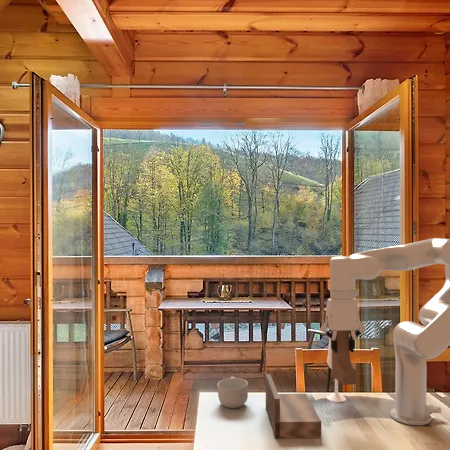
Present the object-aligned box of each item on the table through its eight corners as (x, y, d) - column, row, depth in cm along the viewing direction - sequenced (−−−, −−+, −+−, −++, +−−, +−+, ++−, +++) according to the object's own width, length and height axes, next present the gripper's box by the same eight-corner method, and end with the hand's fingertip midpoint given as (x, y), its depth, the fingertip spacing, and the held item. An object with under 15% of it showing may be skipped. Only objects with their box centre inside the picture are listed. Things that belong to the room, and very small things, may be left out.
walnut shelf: (305, 407, 160) (305, 373, 160) (321, 438, 138) (321, 398, 138) (265, 408, 160) (265, 373, 159) (274, 438, 138) (275, 398, 137)
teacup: (245, 412, 156) (245, 389, 156) (214, 409, 158) (214, 386, 158) (251, 397, 170) (251, 375, 170) (222, 394, 172) (222, 373, 172)
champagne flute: (345, 395, 171) (345, 331, 171) (346, 402, 165) (346, 335, 164) (326, 394, 172) (327, 330, 172) (327, 401, 166) (327, 334, 166)
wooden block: (356, 384, 144) (356, 327, 144) (343, 385, 143) (342, 328, 143) (344, 374, 153) (343, 321, 153) (331, 375, 152) (330, 321, 152)
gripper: (364, 292, 152) (365, 347, 152) (313, 293, 151) (314, 348, 152) (372, 296, 144) (373, 354, 145) (318, 297, 144) (319, 355, 144)
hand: (343, 350), depth 148 cm, fingers closed on wooden block, 4 cm apart
